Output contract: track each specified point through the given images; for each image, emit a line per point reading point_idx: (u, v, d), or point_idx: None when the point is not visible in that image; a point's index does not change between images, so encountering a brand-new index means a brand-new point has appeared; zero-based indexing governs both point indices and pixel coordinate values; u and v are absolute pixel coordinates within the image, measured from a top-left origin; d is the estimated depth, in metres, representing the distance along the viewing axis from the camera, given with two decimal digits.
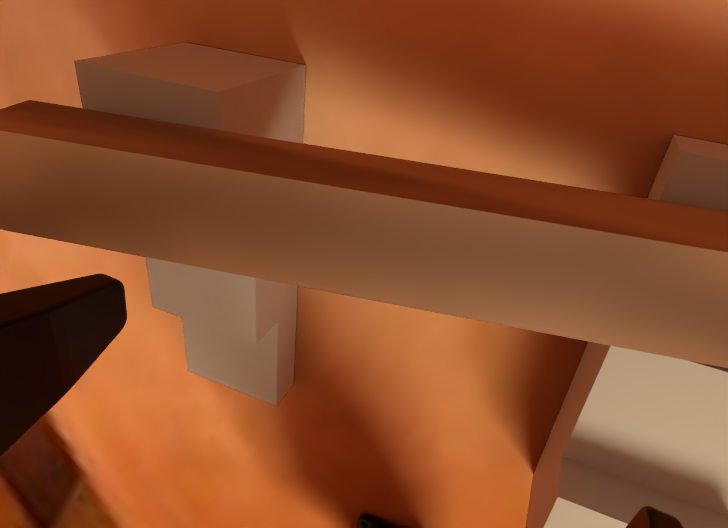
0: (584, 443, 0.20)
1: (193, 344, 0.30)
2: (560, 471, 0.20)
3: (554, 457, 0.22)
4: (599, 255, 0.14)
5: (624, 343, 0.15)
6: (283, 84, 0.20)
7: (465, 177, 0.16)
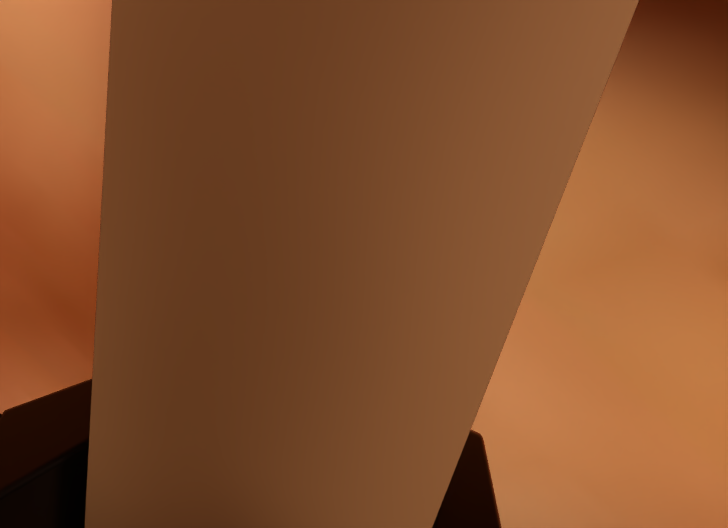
0: None
1: None
2: None
3: None
4: (185, 66, 0.04)
5: None
6: None
7: None
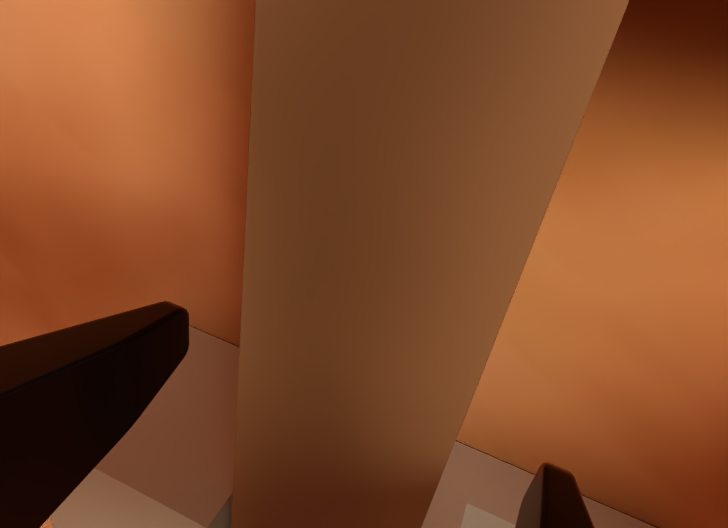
0: None
1: None
2: None
3: None
4: (304, 110, 0.06)
5: (604, 8, 0.04)
6: None
7: None
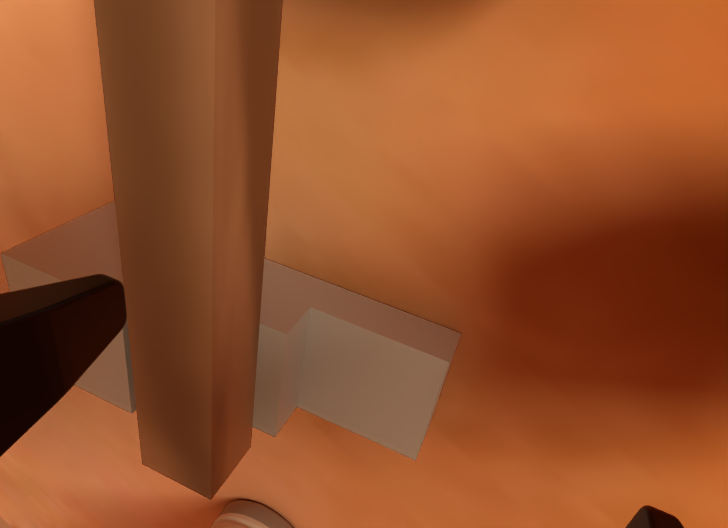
0: None
1: (370, 430, 0.23)
2: None
3: None
4: None
5: None
6: (92, 217, 0.24)
7: None
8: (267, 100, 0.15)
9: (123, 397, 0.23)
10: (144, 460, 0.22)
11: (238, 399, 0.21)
